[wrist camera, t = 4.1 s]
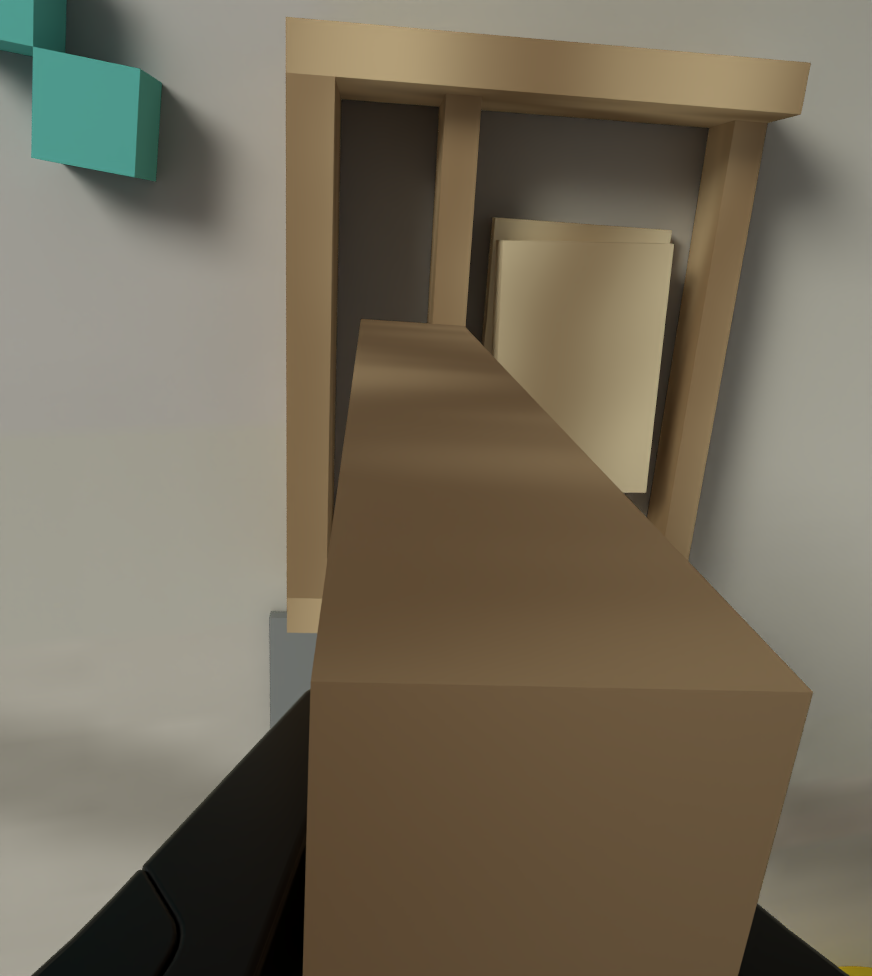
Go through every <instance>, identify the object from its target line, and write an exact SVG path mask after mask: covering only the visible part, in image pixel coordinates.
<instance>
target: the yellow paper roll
mask: <svg viewBox="0 0 872 976" xmlns="http://www.w3.org/2000/svg"><path fill="white" fill-rule="evenodd" d="M839 968H840V969H841V970H842V971H844V972H845V973H846V974H848V975H849V976H872V968H870V967H858V966H845V967H839Z"/></svg>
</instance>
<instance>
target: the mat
mask: <svg viewBox="0 0 872 976" xmlns="http://www.w3.org/2000/svg"><path fill="white" fill-rule="evenodd" d="M269 639H270V729H271V728H272V727H273V726H274V725H275V724H276V723H277V722H278V721H279V719H280V718H281V717H282V716H283V715H284V714H285V713H286V712H287V711H288V710H289V709H290V708H291V707H292V706H293V704H294V703H295V702H296V701H297V700H298V699H299V698H300V697H301V696H302V695H303V694H304V693H305V692H306V691H307V690H309V689H310V686H311V675H312V668H313V661H314V654H315V646H316V639H317V633H287V612H276V611H271V613H270V617H269Z"/></svg>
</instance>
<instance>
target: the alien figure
mask: <svg viewBox="0 0 872 976" xmlns="http://www.w3.org/2000/svg"><path fill="white" fill-rule="evenodd" d="M66 6H67V0H0V50H3V51H8V52H13V53H18V54H23V55H28V56H33V78H32V153H31V158H36V159H41V160H46V161H51V162H56V163H61V164H66V165H72V166H77V167H82V168H87V169H93V170H98V171H103V172H109V173H114V174H119V175H124V176H130V177H135V178H140V179H145V180H151V181H156V173H157V157H158V140H159V124H160V108H161V91H162V83H161V82H160V81H158V80H157V79H155V78H153V77H152V76H150V75H149V74H147V73H146V72H144V71H143V70H141V69H139V68H134V67H129V66H125V65H120V64H115V63H110V62H105V61H100V60H96V59H91V58H86V57H81V56H76V55H71V54H67V53H65V46H66Z"/></svg>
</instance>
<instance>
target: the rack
mask: <svg viewBox="0 0 872 976" xmlns="http://www.w3.org/2000/svg"><path fill="white" fill-rule="evenodd" d="M810 65H811V63H807V62H795V61H784V60H772V59H761V58H749V57H738V56H727V55H715V54H704V53H692V52H681V51H669V50H658V49H647V48H635V47H624V46H612V45H601V44H589V43H578V42H566V41H555V40H544V39H532V38H521V37H509V36H498V35H486V34H475V33H464V32H452V31H441V30H429V29H418V28H406V27H395V26H384V25H372V24H361V23H349V22H338V21H326V20H315V19H303V18H292V17H286V391H287V633H317V632H318V625H319V618H320V610H321V603H322V596H323V589H324V582H325V574H326V567H327V560H328V553H329V546H330V538H331V531H332V524H333V507H334V455H335V402H336V349H337V297H338V244H339V192H340V139H341V99H346V100H359V101H372V102H384V103H397V104H410V105H423V106H435V107H439V121H438V139H437V157H436V175H435V192H434V210H433V228H432V246H431V264H430V281H429V299H428V317H427V323H430V324H445V325H459V326H466V312H467V298H468V284H469V270H470V256H471V242H472V228H473V215H474V201H475V187H476V173H477V159H478V145H479V131H480V118H481V110H486V111H499V112H512V113H524V114H537V115H550V116H563V117H575V118H588V119H601V120H614V121H626V122H639V123H652V124H665V125H677V126H690V127H703V128H709V133H708V139H707V145H706V151H705V158H704V164H703V170H702V176H701V183H700V189H699V195H698V201H697V208H696V214H695V220H694V226H693V233H692V239H691V245H690V251H689V258H688V264H687V270H686V277H685V283H684V289H683V295H682V302H681V308H680V314H679V320H678V327H677V333H676V339H675V345H674V352H673V358H672V364H671V370H670V377H669V383H668V389H667V395H666V402H665V408H664V414H663V421H662V427H661V433H660V439H659V446H658V452H657V458H656V464H655V471H654V477H653V483H652V489H651V496H650V502H649V508H648V514H647V518H648V520H649V521H650V522H651V523H652V524H653V525H654V526H655V527H656V528H657V529H658V530H659V531H660V532H661V533H662V534H663V535H664V536H665V537H666V538H667V539H668V541H669V542H670V543H671V544H672V545H673V546H674V547H675V548H676V549H677V550H678V551H679V552H680V553H681V554H682V555H683V556H684V557H685V558H686V559H687V561H688V559H689V554H690V548H691V543H692V537H693V532H694V526H695V521H696V515H697V510H698V504H699V499H700V493H701V488H702V482H703V477H704V471H705V466H706V460H707V455H708V449H709V444H710V438H711V433H712V427H713V422H714V416H715V411H716V405H717V400H718V394H719V388H720V383H721V377H722V372H723V366H724V361H725V355H726V350H727V344H728V339H729V333H730V328H731V322H732V317H733V311H734V306H735V300H736V295H737V289H738V284H739V278H740V273H741V267H742V262H743V256H744V251H745V245H746V240H747V234H748V229H749V223H750V218H751V212H752V207H753V201H754V196H755V190H756V185H757V179H758V174H759V168H760V163H761V157H762V152H763V146H764V141H765V135H766V130H767V124H768V123H770V122H773V121H777V120H781V119H785V118H789V117H793V116H796V115H800V114H801V111H802V106H803V101H804V96H805V91H806V85H807V80H808V75H809V70H810Z"/></svg>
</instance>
